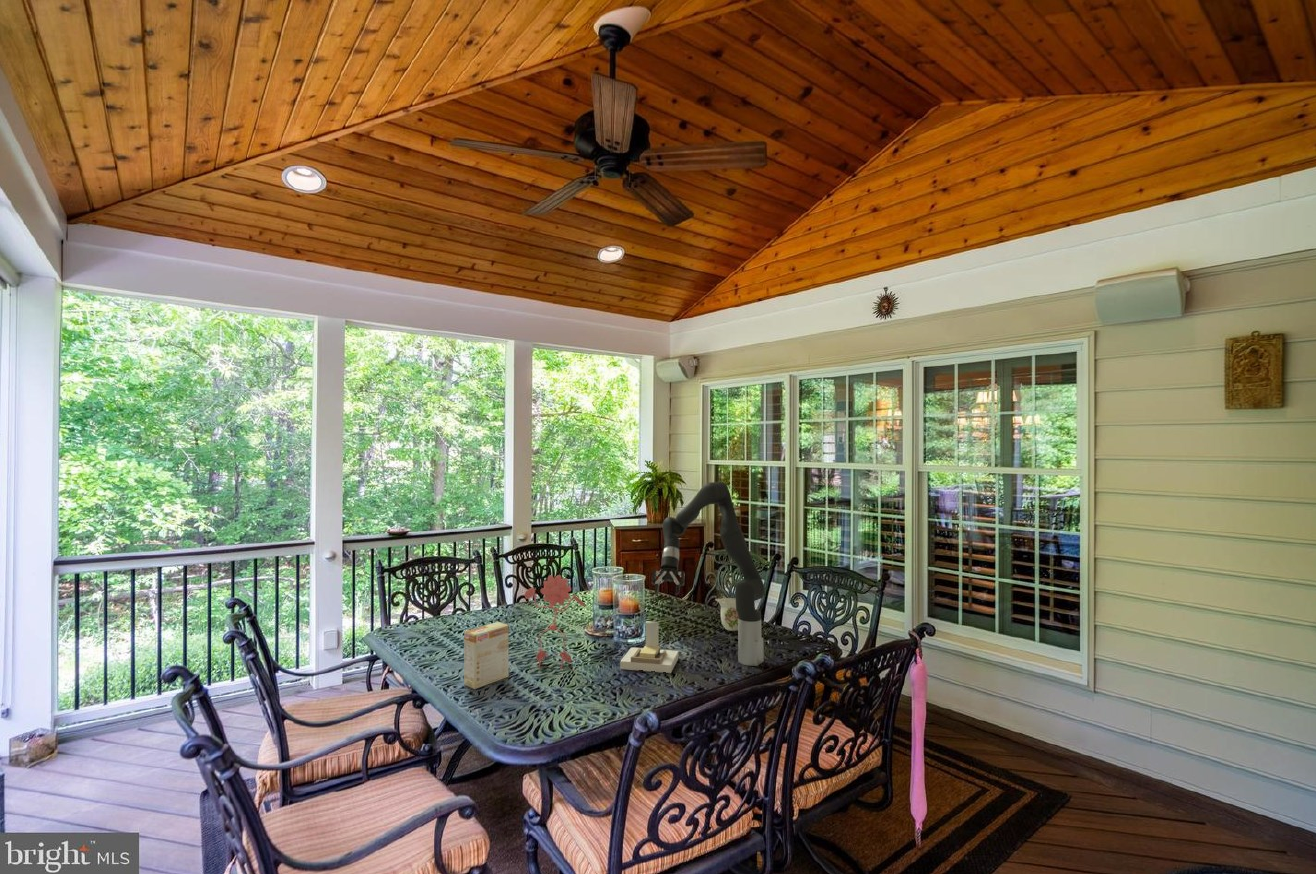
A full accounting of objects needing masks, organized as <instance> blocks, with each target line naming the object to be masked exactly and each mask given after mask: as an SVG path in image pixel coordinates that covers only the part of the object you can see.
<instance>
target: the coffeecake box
mask: <svg viewBox="0 0 1316 874" xmlns="http://www.w3.org/2000/svg"><path fill="white" fill-rule="evenodd" d="M463 636H464V637H463V640H464V641H463V645H464V646H463V649H464V651H463V653H464V654H463V655H464V656H463V657H464V658H463V660H464V661H463V662H464V665H463V667H464V668H463V669H464V670H463V672H464V673H463V675H464V676H463V682H464V684H463V685H464V686H467V687H468V688H470V689H473V690H476V689H479V688H482V687H484V686H487V685H490V684H493V683H495V682H498V681H500V680H503V679H506V678H509V677H510V676H509V675H510V674H509V672H510V671H509V670H510V669H509V663H510V662H509V660H510V659H509V625H508V624H506V623H503V622H500V621H496V622H493V623H490V624H485V625H483V626H478V627H476V628H472V629H468V630H465V631H464V632H463Z"/></svg>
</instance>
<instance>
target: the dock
mask: <svg viewBox="0 0 1316 874" xmlns="http://www.w3.org/2000/svg"><path fill="white" fill-rule="evenodd" d="M643 648H644V647H636V646H635V647H634V646H631V647H630V648H629V650H628V651H627V652H626V653H625V655H624V656H623V657H622V659H621V660H620V663H619V664H620V666H619V667H620V668H619V669H620V670H629V671H639V670H643V671H642V672H651V671H655V672H654V673H663V672H666V674H672V672H673V670H674V668H675V667H676V664H677V662H678V661H679V659H680V655H679V654H680V651H679V650H674V649H661V648H660V654H657V655H656V656H657V657H656V658H645V657H639V655H640V652H641V650H642V649H643ZM678 658H679V659H678Z"/></svg>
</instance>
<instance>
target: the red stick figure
mask: <svg viewBox="0 0 1316 874" xmlns="http://www.w3.org/2000/svg"><path fill="white" fill-rule="evenodd" d="M568 581H569V580H568V579H567V578H563V577H562V575H561V574H558V575H556V576H555V577H554V576H553V575H552V574H550V575H548V577H547V580H543V587H542V588H541V589H540V591H539V592H540V593H541V594H542V595H543V600H544V601H545V602H549V605H542V606H541V605H540V606H538V603H537V599H536V589H535V587H530V588H528V589H527V590H526V591H525V592H524V597H525V599H526V600H528V599H531V598H532V597H533V598H534V603H535V608H536V609H544V608H549V609H551V610H553V611H555V614H554V618H553V621H552V624H550V626H549V628H548V629H546V630H544V631H542V632H541V633H539V634H538V641H539V647H540V650H538V652H537V654H535V655H536V656H535V657H536V658H535V659H536V660H537V661H538V668H541V664H542V663H541V662H542V661H544V660H545V659H546V657H547V654H546V651H545V650H544V649H542V643H541V635H543V634H544V633H545V632H547V631H549V630H550V631H551V632H554V631H556V630H557V631H558V632H560V633H561V634H562V635H563V636H564V637H563V638H564V639H563V651H561V652H560V654H558V655H556V654H555V655H554V657H557V656H558V657H561V664H560V669H561V670H562V669H563V663H564V661H565V662H567V663H568V664H570V663H572V656H570V655H569V654H568V652H565V647H566V634H565V633H563V632H562V631H561V630H560V629H559V628H557V624H555V621H556V618H557V615H558V611H559V612H561V613H563V612H564V611H565V610H566V609H567V607H568V606H569V605H570V604H571V602H572V601H573V599H574V600H575V602H577V603H578V604H579V605H580V606H582V607H583V608H586V604H585V602H584V601H583V600H581V599H580V598H579V597H578V596H576V595H575V594H574V595H572V597H571V598H570V594H569V592H571V591H572V587H570V586H569V585H568ZM565 600H566V601H568V600H569V601H568V603H567V604H566V606H564V608H563V609H559V608H557V607H555V606H556V605H557V604H558V605H559V606H563V605H564V604H565ZM576 670H577V668H575V669H574V671H576Z"/></svg>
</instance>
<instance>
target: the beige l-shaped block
mask: <svg viewBox="0 0 1316 874" xmlns="http://www.w3.org/2000/svg"><path fill="white" fill-rule="evenodd" d="M642 648H643V649H642V650H641V652H640V655H639V657H645V658H656V657H657V656H656V655H657V654H660V649H661V647H660V646H659V621H651V620H650V621H647V620H646V621H645V645H644V646H643V647H642Z"/></svg>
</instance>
